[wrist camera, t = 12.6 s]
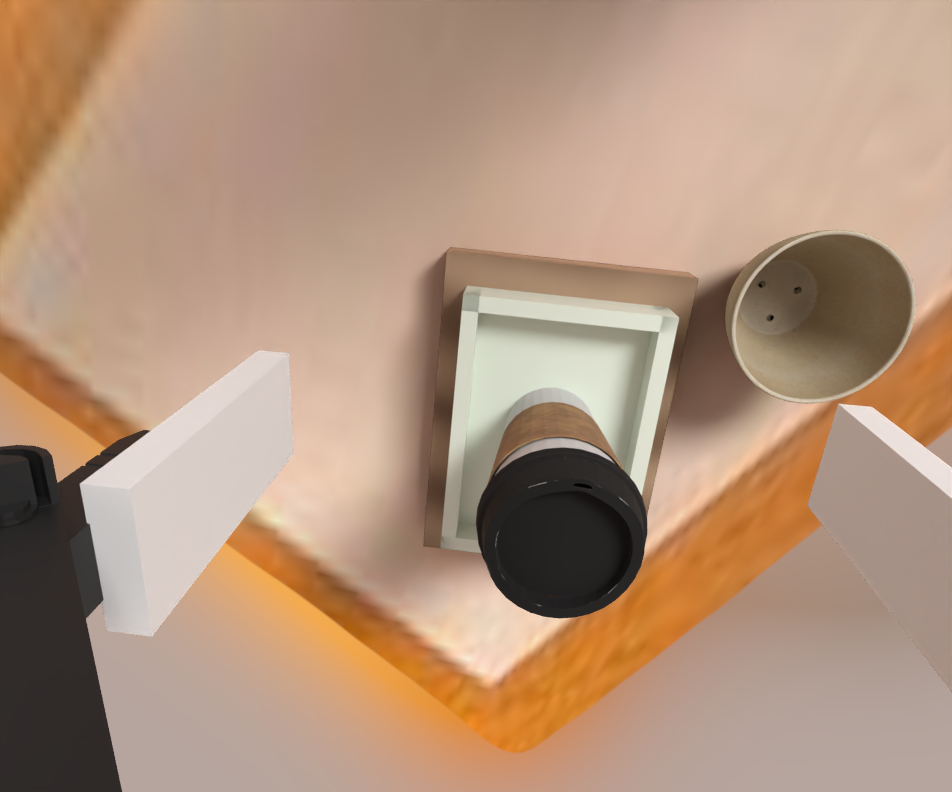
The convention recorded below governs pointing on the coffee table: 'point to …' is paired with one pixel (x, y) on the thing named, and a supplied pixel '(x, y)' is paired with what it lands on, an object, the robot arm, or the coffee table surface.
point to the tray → (550, 382)
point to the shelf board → (552, 280)
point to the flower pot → (820, 315)
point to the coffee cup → (559, 511)
